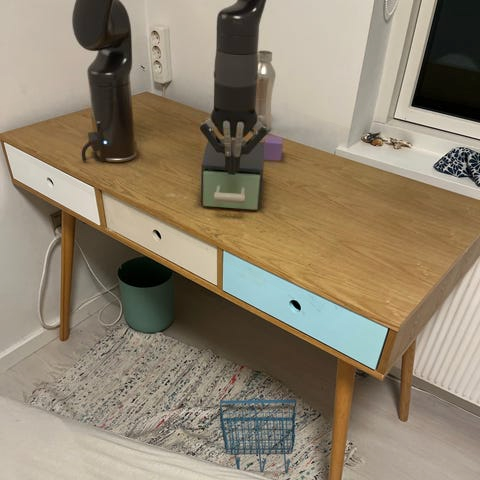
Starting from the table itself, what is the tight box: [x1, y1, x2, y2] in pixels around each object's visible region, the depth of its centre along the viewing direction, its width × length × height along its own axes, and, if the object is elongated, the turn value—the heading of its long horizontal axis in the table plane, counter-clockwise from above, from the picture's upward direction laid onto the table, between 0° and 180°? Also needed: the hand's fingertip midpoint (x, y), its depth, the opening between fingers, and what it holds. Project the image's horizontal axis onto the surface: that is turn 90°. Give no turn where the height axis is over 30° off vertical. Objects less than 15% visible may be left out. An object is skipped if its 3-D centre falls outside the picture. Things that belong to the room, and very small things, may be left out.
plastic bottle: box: [251, 50, 276, 131], centre depth 137 cm, size 6×7×20 cm
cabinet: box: [200, 138, 265, 211], centre depth 110 cm, size 15×13×9 cm
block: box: [263, 135, 284, 162], centre depth 128 cm, size 4×4×4 cm
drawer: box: [202, 169, 260, 211], centre depth 107 cm, size 18×11×7 cm, turn 177°
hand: (232, 173), depth 99 cm, fingers closed
